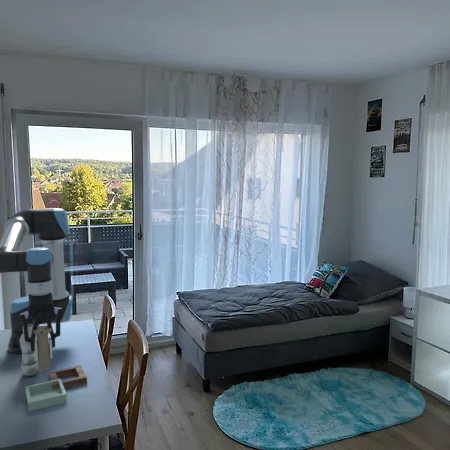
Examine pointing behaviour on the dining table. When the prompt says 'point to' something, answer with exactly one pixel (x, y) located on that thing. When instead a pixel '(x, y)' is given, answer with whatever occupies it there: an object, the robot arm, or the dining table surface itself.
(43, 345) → the handle
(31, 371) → the plastic bottle
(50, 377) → the brown wooden frame
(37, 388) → the tray
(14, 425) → the dining table surface
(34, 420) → the dining table surface
